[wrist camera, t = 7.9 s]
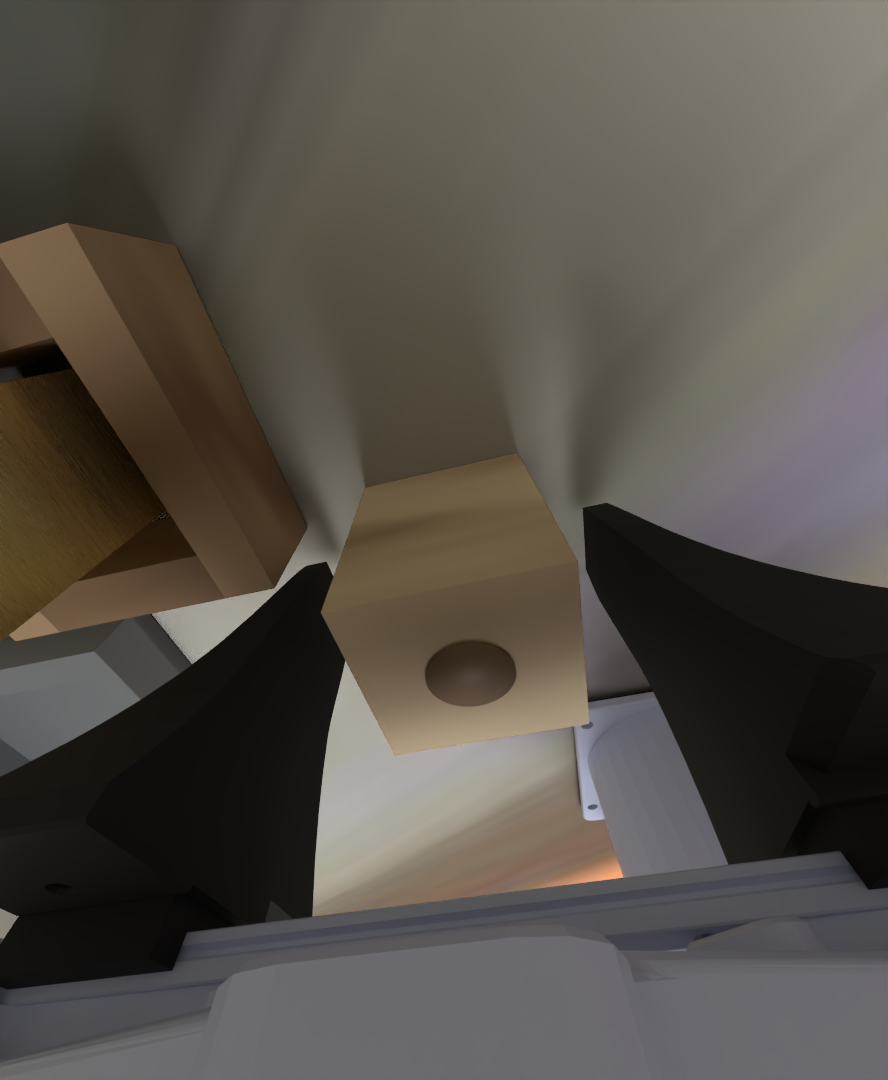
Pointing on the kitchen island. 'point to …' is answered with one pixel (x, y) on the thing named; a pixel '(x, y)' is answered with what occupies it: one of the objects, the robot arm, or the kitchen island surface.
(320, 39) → the kitchen island surface
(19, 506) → the gold rectangular block
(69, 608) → the brown rectangular frame
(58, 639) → the tray
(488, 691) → the block
